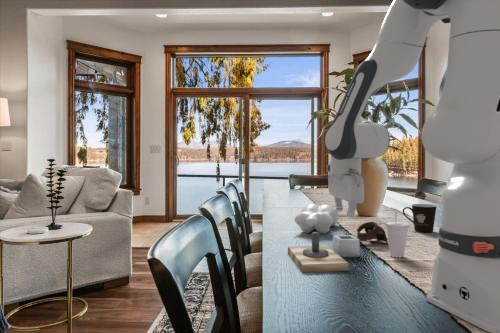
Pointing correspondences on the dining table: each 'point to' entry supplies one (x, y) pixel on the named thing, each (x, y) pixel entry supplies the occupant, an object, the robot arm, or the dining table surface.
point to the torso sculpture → (317, 218)
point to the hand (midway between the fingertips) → (344, 214)
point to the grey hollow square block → (346, 245)
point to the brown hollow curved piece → (371, 232)
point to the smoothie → (397, 237)
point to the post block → (317, 257)
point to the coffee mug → (423, 217)
